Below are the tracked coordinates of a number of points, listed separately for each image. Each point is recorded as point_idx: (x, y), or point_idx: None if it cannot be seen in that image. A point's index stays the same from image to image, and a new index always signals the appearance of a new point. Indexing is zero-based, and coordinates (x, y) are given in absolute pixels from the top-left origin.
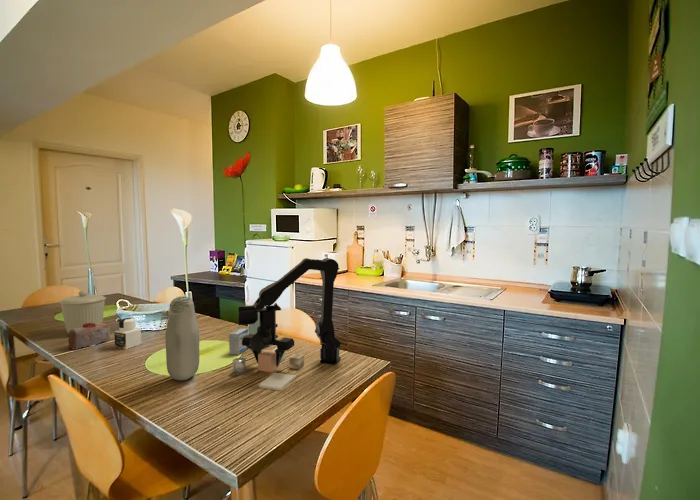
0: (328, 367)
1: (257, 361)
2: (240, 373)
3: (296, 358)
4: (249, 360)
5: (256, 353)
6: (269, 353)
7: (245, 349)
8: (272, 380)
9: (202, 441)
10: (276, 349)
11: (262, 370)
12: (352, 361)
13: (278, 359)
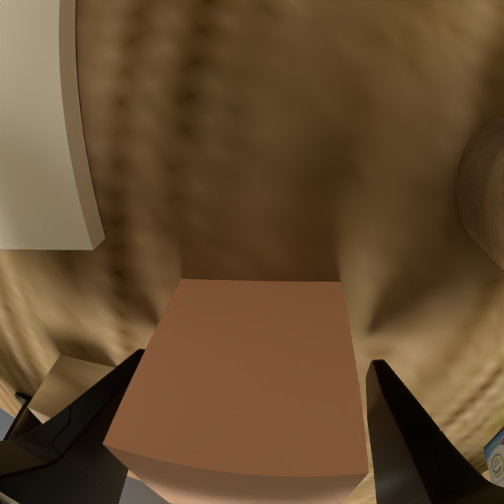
0: (8, 370)
1: (390, 379)
2: (487, 130)
3: (41, 412)
4: (471, 390)
5: (416, 468)
6: (194, 489)
7: (495, 440)
8: (8, 87)
9: None
10: (6, 495)
11: (285, 284)
12: (14, 405)
13: (77, 399)
